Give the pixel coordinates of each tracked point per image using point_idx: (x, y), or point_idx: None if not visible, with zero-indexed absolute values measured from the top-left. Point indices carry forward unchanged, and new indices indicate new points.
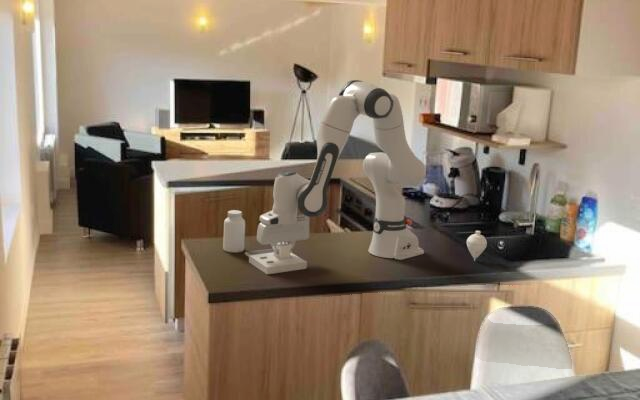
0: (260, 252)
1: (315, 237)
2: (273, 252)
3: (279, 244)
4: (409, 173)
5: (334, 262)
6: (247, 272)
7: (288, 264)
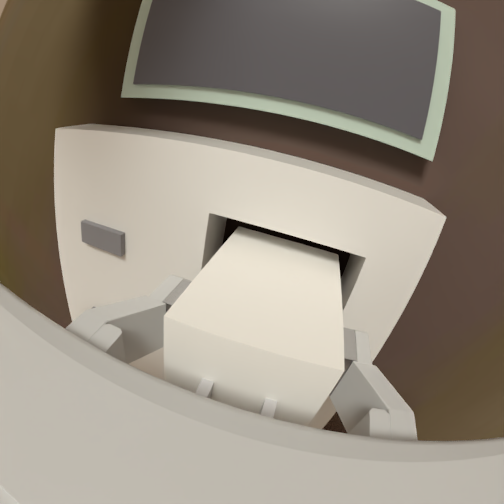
0: (249, 5)
1: None
2: (168, 277)
3: (177, 381)
4: None
5: (478, 409)
6: (44, 256)
7: None
